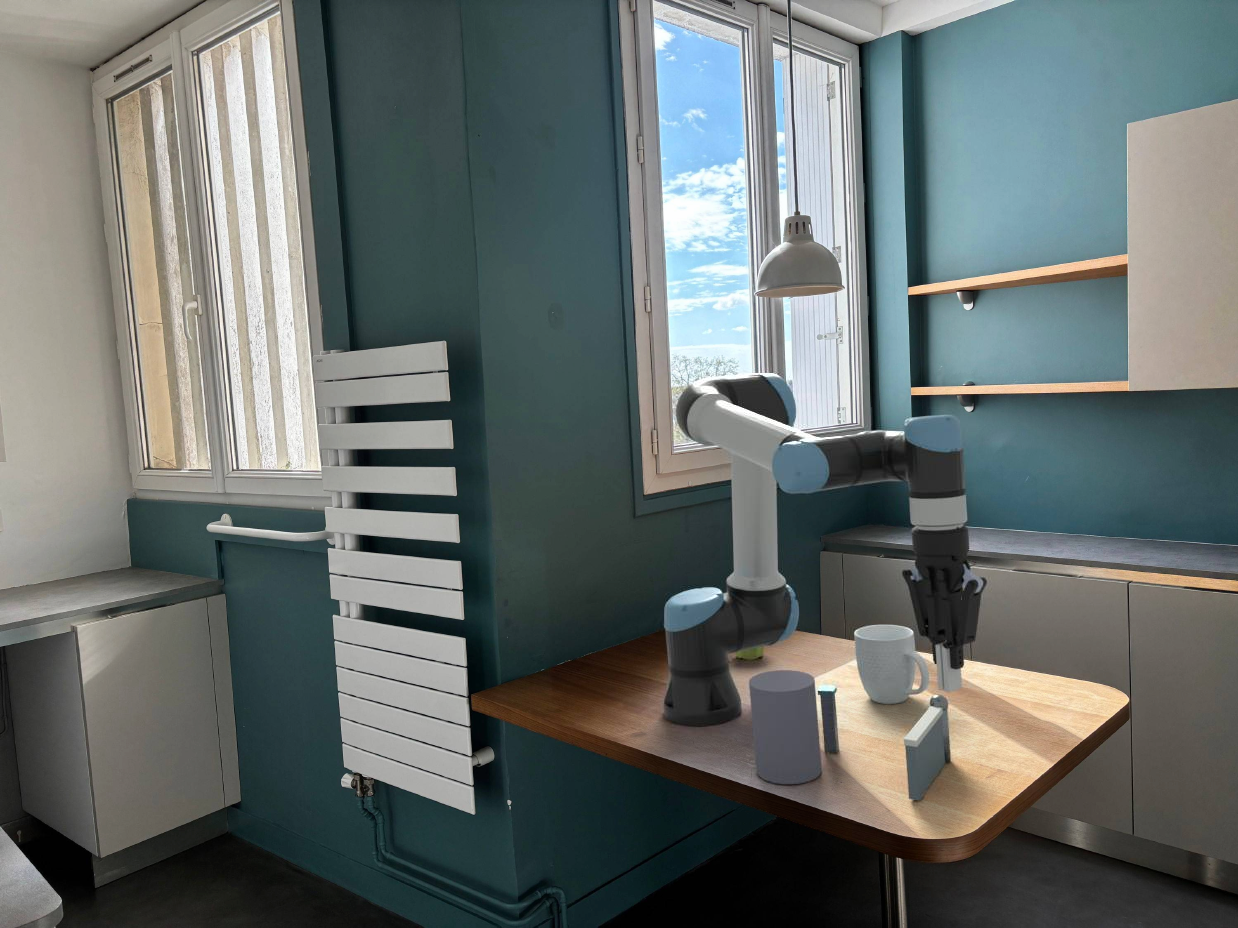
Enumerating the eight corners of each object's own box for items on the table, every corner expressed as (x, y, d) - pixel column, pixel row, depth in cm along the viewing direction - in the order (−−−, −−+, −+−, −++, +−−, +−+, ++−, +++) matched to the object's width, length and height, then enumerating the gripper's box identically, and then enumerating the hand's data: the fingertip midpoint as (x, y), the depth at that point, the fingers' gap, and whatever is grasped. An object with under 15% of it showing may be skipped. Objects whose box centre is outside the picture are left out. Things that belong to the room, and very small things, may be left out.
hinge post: (932, 763, 137) (928, 697, 136) (934, 756, 139) (929, 691, 139) (951, 764, 136) (947, 698, 135) (952, 757, 138) (948, 692, 137)
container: (750, 783, 136) (742, 690, 135) (763, 756, 145) (756, 669, 144) (817, 788, 132) (809, 692, 131) (825, 760, 142) (819, 670, 141)
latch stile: (822, 753, 144) (817, 690, 144) (825, 747, 147) (820, 685, 146) (838, 754, 143) (833, 691, 142) (841, 748, 146) (836, 685, 145)
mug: (948, 702, 162) (943, 633, 161) (910, 718, 156) (905, 647, 155) (884, 684, 174) (879, 621, 173) (846, 699, 168) (841, 633, 167)
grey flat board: (934, 760, 137) (930, 706, 136) (946, 762, 136) (942, 707, 135) (908, 798, 125) (903, 738, 125) (920, 800, 124) (916, 740, 124)
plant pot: (773, 660, 197) (770, 622, 196) (732, 663, 197) (729, 626, 196) (767, 648, 206) (764, 612, 205) (727, 651, 206) (724, 616, 205)
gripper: (998, 525, 118) (1008, 693, 119) (920, 518, 129) (930, 671, 131) (960, 533, 114) (972, 707, 116) (884, 525, 126) (895, 683, 127)
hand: (950, 688), depth 123 cm, fingers closed
